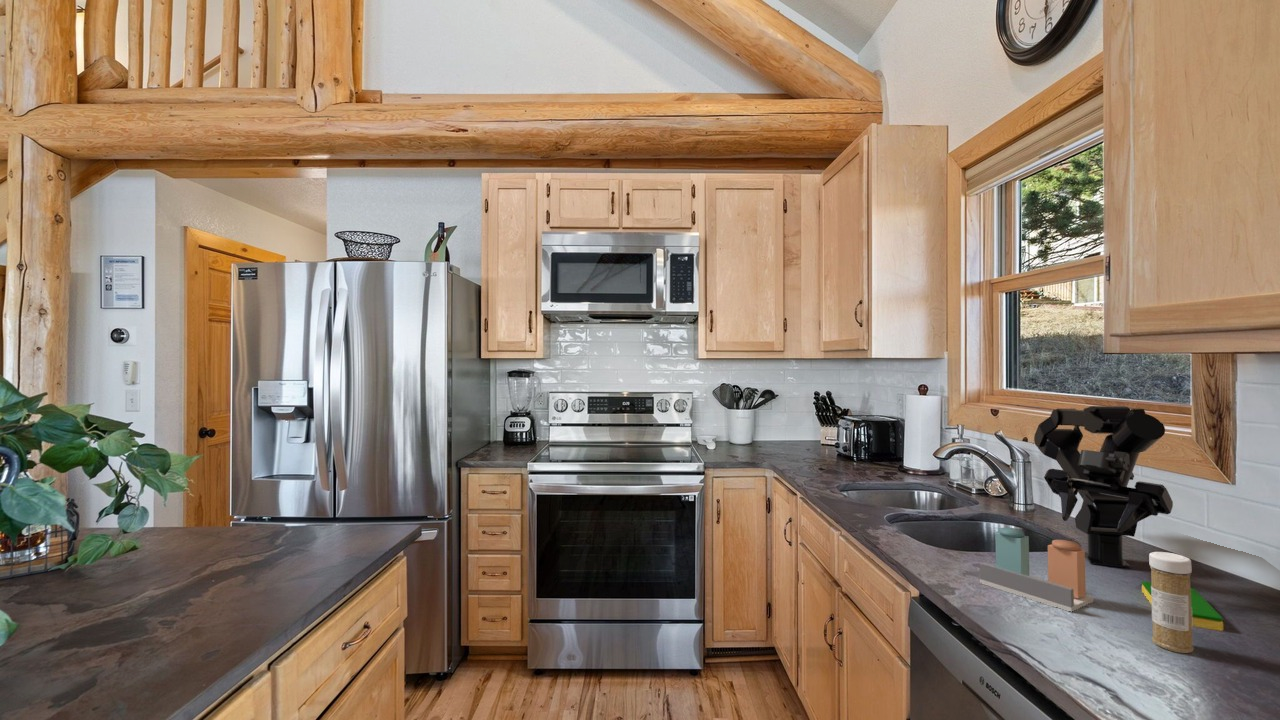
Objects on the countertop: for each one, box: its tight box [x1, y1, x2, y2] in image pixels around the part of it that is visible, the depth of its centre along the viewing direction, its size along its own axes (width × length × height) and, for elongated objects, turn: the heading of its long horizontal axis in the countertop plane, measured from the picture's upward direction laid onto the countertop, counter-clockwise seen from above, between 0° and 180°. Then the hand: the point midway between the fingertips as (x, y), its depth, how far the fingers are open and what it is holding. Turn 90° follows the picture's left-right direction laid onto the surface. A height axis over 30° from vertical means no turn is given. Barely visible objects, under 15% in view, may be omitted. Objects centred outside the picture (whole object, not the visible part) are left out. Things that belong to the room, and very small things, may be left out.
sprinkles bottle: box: [1148, 551, 1195, 654], centre depth 82 cm, size 5×5×14 cm
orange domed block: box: [1047, 539, 1087, 598], centre depth 99 cm, size 4×4×9 cm
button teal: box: [994, 527, 1030, 576], centre depth 107 cm, size 4×4×9 cm
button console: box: [978, 562, 1094, 613], centre depth 102 cm, size 8×15×4 cm, turn 30°
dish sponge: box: [1141, 580, 1224, 632], centre depth 94 cm, size 7×14×2 cm, turn 149°
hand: (1090, 525), depth 105 cm, fingers open, 8 cm apart
